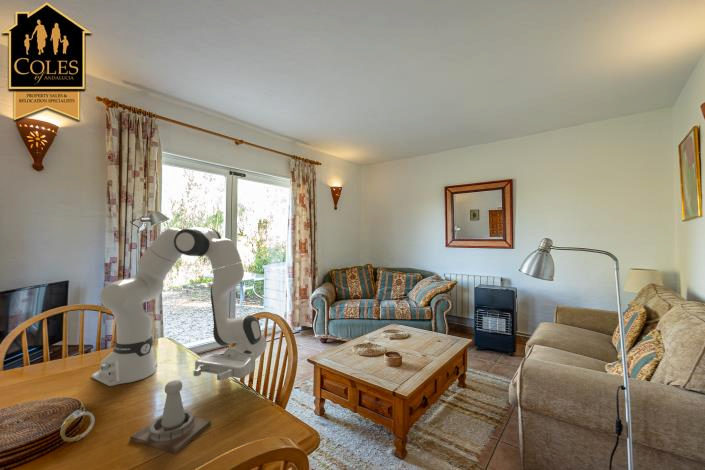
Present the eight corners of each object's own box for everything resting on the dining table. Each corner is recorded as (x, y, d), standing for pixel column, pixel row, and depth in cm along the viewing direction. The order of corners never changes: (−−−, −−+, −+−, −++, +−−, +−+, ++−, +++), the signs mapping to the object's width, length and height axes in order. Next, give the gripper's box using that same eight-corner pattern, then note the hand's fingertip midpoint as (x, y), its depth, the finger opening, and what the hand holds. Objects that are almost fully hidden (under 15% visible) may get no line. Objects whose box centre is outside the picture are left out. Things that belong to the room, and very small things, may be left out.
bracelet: (61, 449, 77) (61, 419, 77) (59, 444, 79) (59, 414, 79) (96, 435, 83) (96, 406, 83) (92, 430, 85) (92, 402, 85)
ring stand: (130, 440, 81) (130, 428, 81) (169, 414, 92) (169, 404, 92) (176, 453, 76) (176, 441, 76) (210, 424, 88) (210, 413, 88)
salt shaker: (168, 437, 80) (168, 390, 80) (156, 430, 83) (157, 384, 83) (189, 425, 85) (189, 380, 85) (177, 419, 88) (177, 375, 88)
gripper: (212, 347, 113) (181, 362, 100) (258, 353, 107) (232, 370, 94) (212, 363, 113) (181, 380, 100) (258, 370, 107) (232, 390, 94)
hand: (206, 375), depth 97 cm, fingers open, 8 cm apart
